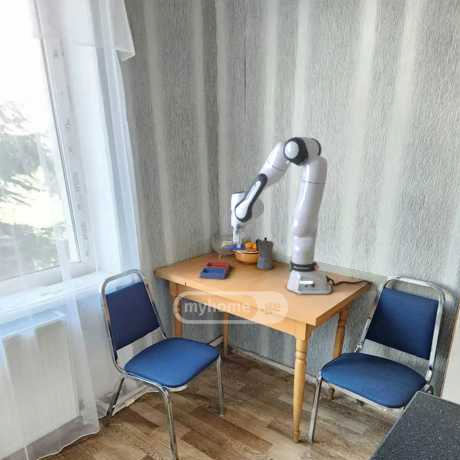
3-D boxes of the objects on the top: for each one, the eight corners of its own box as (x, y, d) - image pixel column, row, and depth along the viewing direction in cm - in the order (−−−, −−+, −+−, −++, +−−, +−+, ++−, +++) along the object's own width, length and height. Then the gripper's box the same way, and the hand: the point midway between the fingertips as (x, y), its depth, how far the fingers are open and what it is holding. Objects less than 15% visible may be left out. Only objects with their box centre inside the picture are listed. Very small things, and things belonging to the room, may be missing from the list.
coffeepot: (278, 268, 230) (279, 238, 223) (265, 271, 225) (266, 241, 218) (261, 262, 242) (262, 233, 234) (249, 264, 237) (249, 235, 229)
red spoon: (228, 268, 230) (228, 263, 229) (226, 270, 227) (226, 265, 226) (210, 267, 232) (210, 262, 231) (209, 269, 229) (208, 264, 228)
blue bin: (226, 273, 223) (226, 268, 222) (223, 279, 215) (223, 274, 214) (204, 272, 225) (204, 267, 224) (200, 277, 217) (200, 272, 216)
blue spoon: (245, 249, 221) (245, 244, 220) (244, 251, 218) (244, 246, 217) (227, 248, 223) (227, 243, 222) (226, 250, 220) (226, 245, 219)
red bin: (230, 267, 233) (230, 262, 232) (227, 272, 225) (227, 267, 224) (208, 266, 235) (208, 261, 234) (204, 271, 227) (204, 266, 226)
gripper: (242, 226, 204) (242, 252, 210) (247, 218, 222) (247, 242, 228) (230, 226, 205) (230, 251, 211) (236, 218, 223) (236, 241, 229)
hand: (239, 246), depth 220 cm, fingers closed on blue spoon
